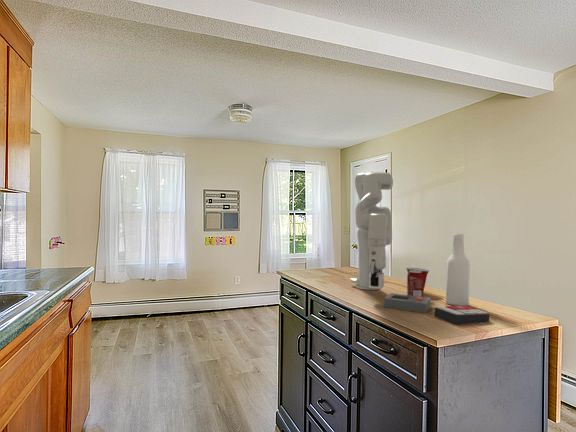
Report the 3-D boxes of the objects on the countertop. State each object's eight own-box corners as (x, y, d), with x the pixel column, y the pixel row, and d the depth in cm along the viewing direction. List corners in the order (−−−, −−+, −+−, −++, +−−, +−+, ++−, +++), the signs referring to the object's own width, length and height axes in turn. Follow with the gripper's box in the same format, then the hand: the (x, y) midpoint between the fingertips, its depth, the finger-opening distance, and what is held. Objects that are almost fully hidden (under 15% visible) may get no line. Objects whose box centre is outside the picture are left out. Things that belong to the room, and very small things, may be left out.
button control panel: (490, 312, 128) (457, 313, 123) (489, 324, 128) (456, 325, 123) (465, 304, 138) (434, 305, 133) (465, 316, 138) (433, 316, 133)
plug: (368, 287, 153) (369, 267, 153) (372, 285, 157) (372, 266, 157) (380, 288, 151) (380, 269, 150) (383, 286, 155) (384, 267, 155)
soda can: (423, 299, 161) (424, 272, 161) (407, 298, 162) (408, 272, 162) (421, 296, 167) (421, 270, 167) (406, 295, 169) (406, 269, 169)
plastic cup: (433, 293, 174) (434, 268, 174) (420, 295, 168) (420, 270, 168) (414, 289, 183) (415, 265, 183) (400, 291, 177) (401, 267, 177)
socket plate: (384, 307, 146) (384, 296, 146) (391, 301, 156) (391, 291, 156) (425, 313, 138) (426, 301, 138) (430, 306, 148) (430, 296, 148)
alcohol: (442, 301, 158) (444, 233, 158) (463, 302, 157) (464, 233, 157) (450, 306, 149) (452, 234, 149) (472, 307, 148) (473, 234, 148)
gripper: (380, 244, 144) (379, 289, 145) (391, 241, 159) (390, 282, 159) (362, 243, 148) (361, 287, 148) (374, 240, 163) (373, 280, 163)
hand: (376, 284), depth 154 cm, fingers closed on plug, 4 cm apart
